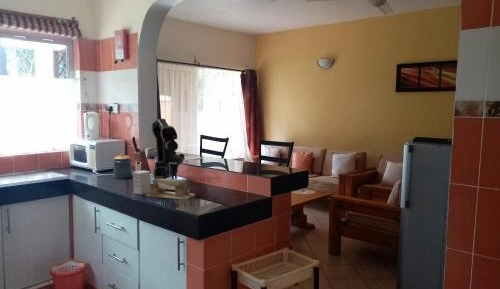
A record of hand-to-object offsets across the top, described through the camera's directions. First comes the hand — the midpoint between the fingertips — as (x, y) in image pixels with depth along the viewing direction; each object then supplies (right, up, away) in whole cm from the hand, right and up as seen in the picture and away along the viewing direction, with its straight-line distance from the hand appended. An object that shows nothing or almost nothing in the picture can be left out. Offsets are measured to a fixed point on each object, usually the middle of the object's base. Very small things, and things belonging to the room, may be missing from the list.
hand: (169, 177), depth 207 cm
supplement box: (-18, -10, +10) cm, 23 cm away
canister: (-48, -6, +63) cm, 79 cm away
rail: (0, -6, +1) cm, 6 cm away
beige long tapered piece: (0, -10, +1) cm, 10 cm away
